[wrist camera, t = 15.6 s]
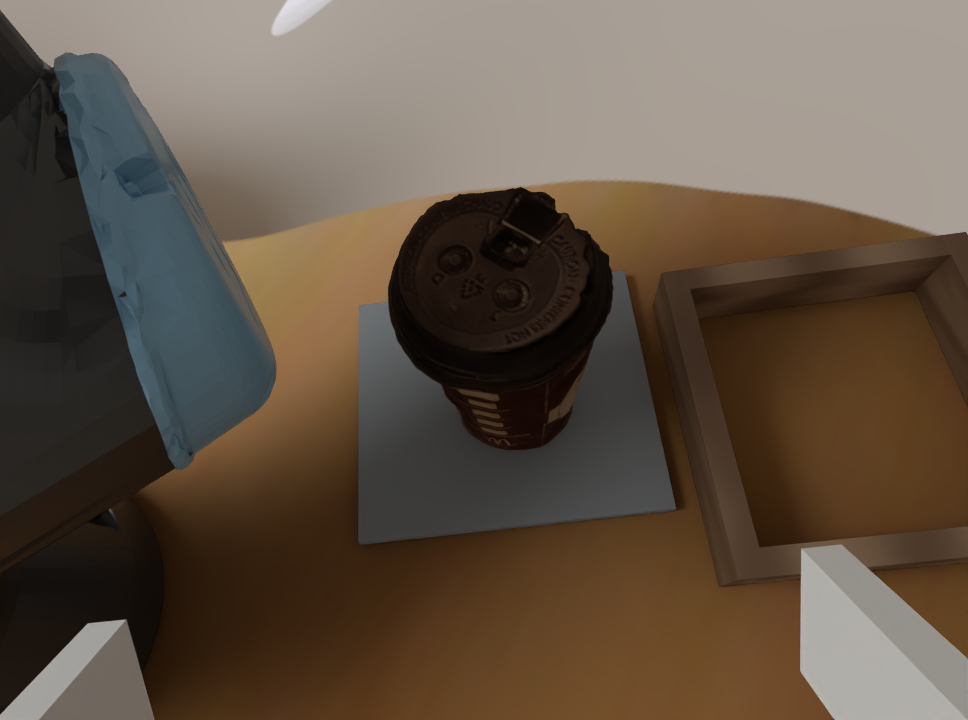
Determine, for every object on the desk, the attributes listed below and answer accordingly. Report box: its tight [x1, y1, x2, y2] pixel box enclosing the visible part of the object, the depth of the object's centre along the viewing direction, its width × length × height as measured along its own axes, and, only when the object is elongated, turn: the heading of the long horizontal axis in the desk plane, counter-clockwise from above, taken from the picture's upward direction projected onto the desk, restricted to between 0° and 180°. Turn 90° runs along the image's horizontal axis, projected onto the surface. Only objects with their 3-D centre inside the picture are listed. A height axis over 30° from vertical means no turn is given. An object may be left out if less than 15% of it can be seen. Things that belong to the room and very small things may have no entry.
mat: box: [358, 270, 676, 545], centre depth 34 cm, size 16×14×1 cm
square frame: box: [653, 232, 968, 587], centre depth 30 cm, size 15×15×4 cm
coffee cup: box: [388, 187, 614, 451], centre depth 28 cm, size 9×8×13 cm
